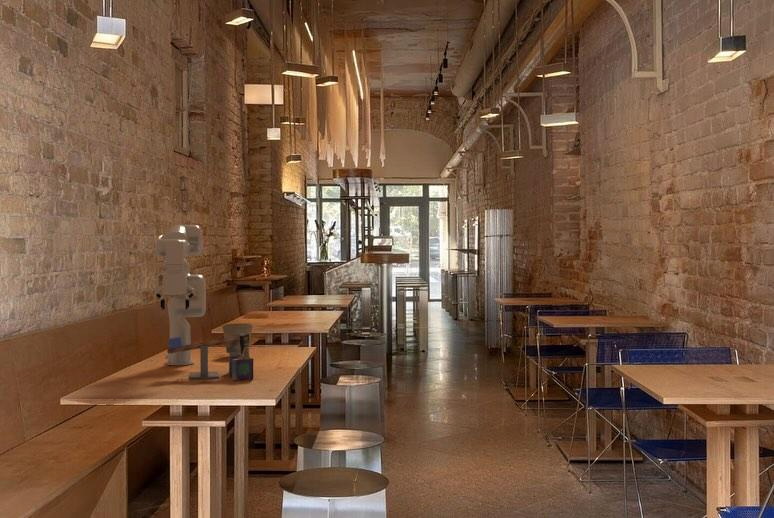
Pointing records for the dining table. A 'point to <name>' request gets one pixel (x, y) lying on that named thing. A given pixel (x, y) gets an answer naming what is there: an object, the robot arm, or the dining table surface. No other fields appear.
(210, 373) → the stand
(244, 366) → the flask
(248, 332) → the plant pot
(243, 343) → the coffee box
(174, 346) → the blue block
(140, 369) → the dining table surface
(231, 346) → the beam
